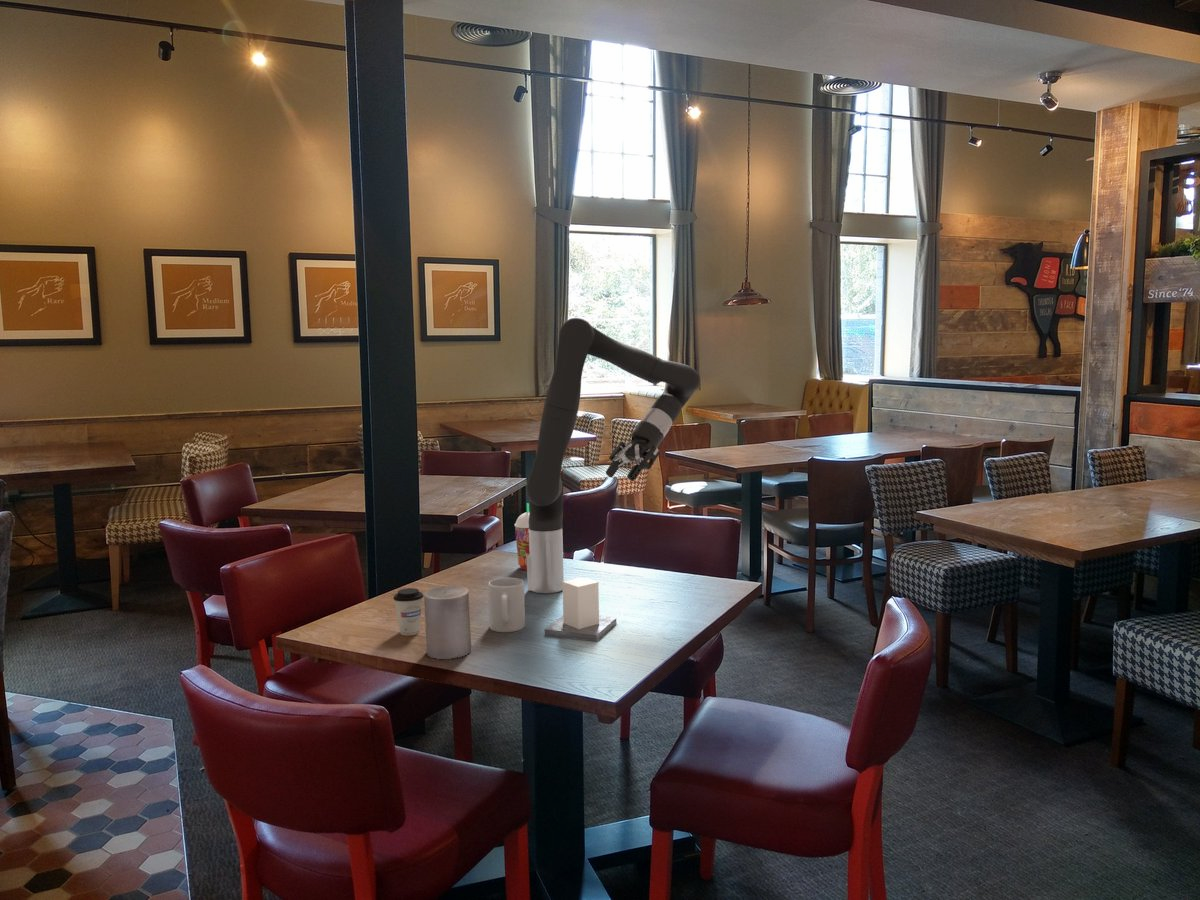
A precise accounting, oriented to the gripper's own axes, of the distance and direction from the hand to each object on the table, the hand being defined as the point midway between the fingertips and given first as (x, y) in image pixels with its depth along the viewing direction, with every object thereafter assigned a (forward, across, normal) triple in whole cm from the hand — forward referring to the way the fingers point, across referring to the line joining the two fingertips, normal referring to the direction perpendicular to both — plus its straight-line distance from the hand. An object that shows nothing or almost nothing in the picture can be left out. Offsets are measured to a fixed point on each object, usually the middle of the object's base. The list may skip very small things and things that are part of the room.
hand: (618, 477), depth 213 cm
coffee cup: (+60, -17, -12) cm, 63 cm away
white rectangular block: (+36, +9, +9) cm, 38 cm away
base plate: (+37, +9, +10) cm, 40 cm away
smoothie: (+21, -48, +27) cm, 59 cm away
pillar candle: (+60, +2, -12) cm, 61 cm away
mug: (+47, -3, +1) cm, 47 cm away
